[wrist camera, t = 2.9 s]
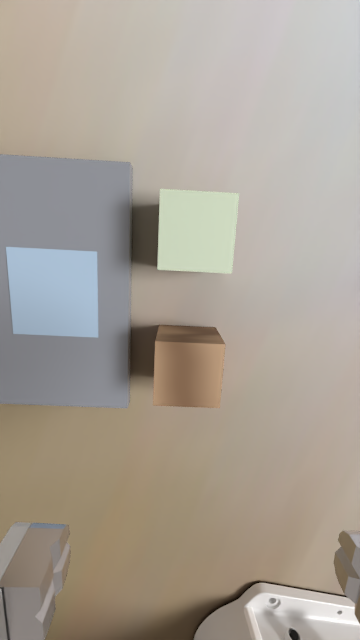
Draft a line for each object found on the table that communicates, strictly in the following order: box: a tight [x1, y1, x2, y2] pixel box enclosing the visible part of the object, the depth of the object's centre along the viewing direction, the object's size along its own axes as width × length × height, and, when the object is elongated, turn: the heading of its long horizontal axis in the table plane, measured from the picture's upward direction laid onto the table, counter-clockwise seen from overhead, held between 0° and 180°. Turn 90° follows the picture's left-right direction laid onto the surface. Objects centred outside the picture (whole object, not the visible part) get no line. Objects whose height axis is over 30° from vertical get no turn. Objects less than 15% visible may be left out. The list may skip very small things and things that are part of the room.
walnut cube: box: [153, 325, 225, 408], centre depth 22 cm, size 5×5×5 cm
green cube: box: [157, 189, 239, 274], centre depth 20 cm, size 5×5×5 cm
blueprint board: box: [0, 154, 133, 408], centre depth 23 cm, size 12×20×1 cm, turn 177°
